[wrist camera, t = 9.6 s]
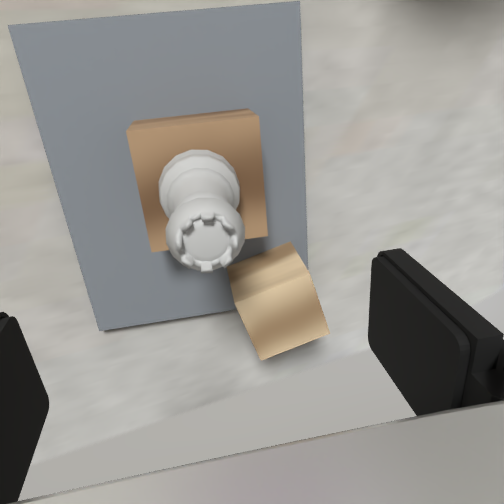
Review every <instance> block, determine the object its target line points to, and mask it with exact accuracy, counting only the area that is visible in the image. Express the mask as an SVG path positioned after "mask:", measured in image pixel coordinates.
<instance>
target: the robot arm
mask: <svg viewBox="0 0 504 504" xmlns="http://www.w3.org/2000/svg"><path fill="white" fill-rule="evenodd" d="M503 335H504V334H503V333H501V332H500V331H499V330H498V329H497V328H495V327H494V326H493V325H492V324H491V323H490V322H488V321H487V320H486V319H485V318H484V317H482V316H481V315H480V314H479V313H478V312H477V311H475V310H474V309H473V308H472V307H471V306H469V305H468V304H467V303H466V302H465V301H463V300H462V299H461V298H460V297H459V296H457V295H456V294H455V293H454V292H453V291H451V290H450V289H449V288H448V287H447V286H446V285H444V284H443V283H442V282H441V281H440V280H438V279H437V278H436V277H435V276H434V275H432V274H431V273H430V272H429V271H428V270H426V269H425V268H424V267H423V266H422V265H421V264H419V263H418V262H417V261H416V260H415V259H413V258H412V257H411V256H410V255H409V254H407V253H406V252H405V251H404V250H402V249H401V248H400V249H393V250H387V251H380V252H379V253H378V255H377V257H376V258H373V260H372V267H371V287H370V307H369V327H368V341H369V345H370V347H371V349H372V351H373V352H374V354H375V355H376V357H377V358H378V360H379V361H380V363H381V364H382V365H383V367H384V368H385V370H386V371H387V373H388V374H389V376H390V377H391V379H392V380H393V382H394V383H395V385H396V386H397V387H398V389H399V390H400V392H401V393H402V395H403V396H404V398H405V399H406V401H407V402H408V404H409V405H410V407H411V408H412V409H413V411H414V412H415V414H416V415H417V416H415V417H410V418H405V419H401V420H396V421H391V422H386V423H381V424H377V425H371V426H366V427H362V428H357V429H352V430H347V431H342V432H338V433H333V434H328V435H323V436H318V437H314V438H309V439H304V440H299V441H294V442H290V443H285V444H280V445H275V446H271V447H266V448H261V449H257V450H252V451H247V452H243V453H238V454H233V455H228V456H224V457H219V458H214V459H210V460H205V461H201V462H196V463H191V464H187V465H182V466H177V467H173V468H168V469H163V470H159V471H154V472H149V473H145V474H140V475H136V476H132V477H127V478H122V479H117V480H113V481H108V482H104V483H99V484H95V485H90V486H86V487H81V488H77V489H72V490H67V491H63V492H59V493H54V494H49V495H45V496H40V497H36V498H31V499H27V500H22V501H18V498H19V495H20V493H21V490H22V487H23V484H24V481H25V478H26V475H27V472H28V469H29V466H30V463H31V460H32V457H33V455H34V452H35V449H36V446H37V443H38V440H39V437H40V434H41V431H42V428H43V425H44V422H45V419H46V416H47V414H48V410H49V398H48V395H47V392H46V390H45V388H44V385H43V383H42V380H41V378H40V375H39V373H38V370H37V368H36V365H35V363H34V360H33V358H32V356H31V353H30V351H29V348H28V346H27V343H26V341H25V338H24V336H23V333H22V331H21V328H20V326H19V324H18V321H17V319H16V318H15V317H13V316H12V317H9V316H8V315H7V314H6V313H4V312H0V504H504V340H503ZM17 501H18V502H17Z"/></svg>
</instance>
